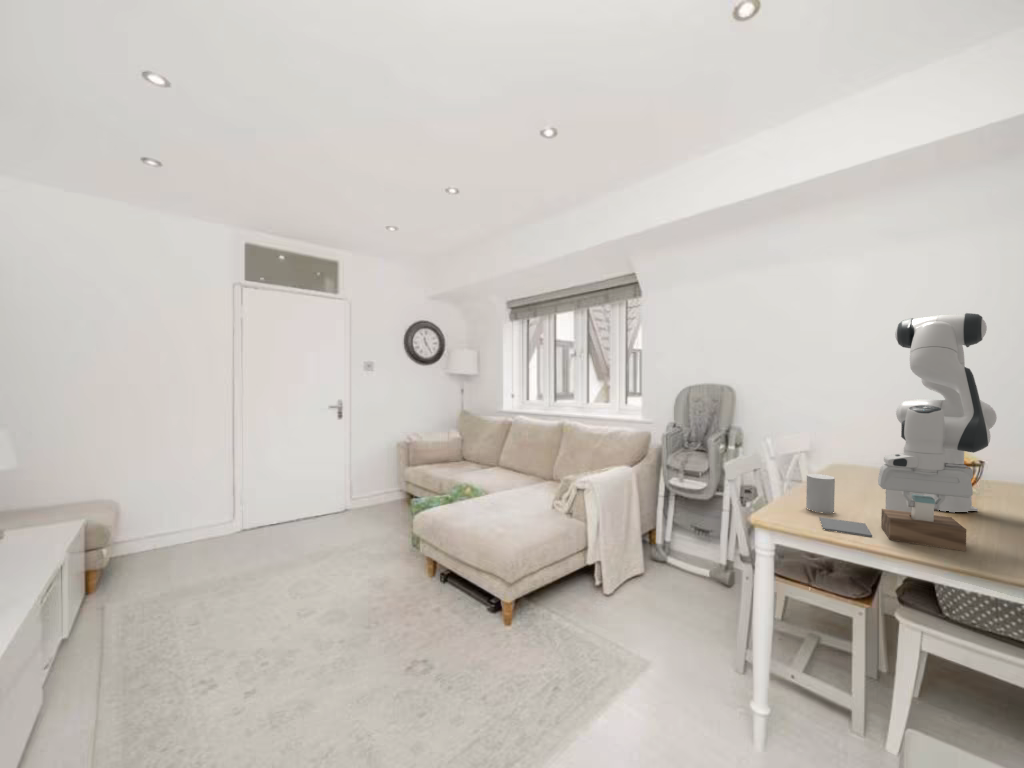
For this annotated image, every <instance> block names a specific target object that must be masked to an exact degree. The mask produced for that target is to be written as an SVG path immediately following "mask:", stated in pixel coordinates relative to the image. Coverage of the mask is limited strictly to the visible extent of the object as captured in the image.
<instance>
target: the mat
mask: <svg viewBox="0 0 1024 768" xmlns="http://www.w3.org/2000/svg"><path fill="white" fill-rule="evenodd" d="M820 521H821V522H820ZM819 522H820V525H821V524H822V525H821V528H822V527H823V528H822V530H823V529H825V530H824V531H827V530H830V531H829V532H834V531H837V532H836V533H841V532H842V534H849V535H856V536H862V537H868V538H873V534H872V532H871V531H870V529H869V528H868V525H867V524H866V523H865V522H858V521H850V520H845V519H844V520H842V519H836V518H831V517H830V518H828V517H824V516H823V517H821V516H820V517H819Z"/></svg>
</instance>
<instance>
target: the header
mask: <svg viewBox="0 0 1024 768" xmlns="http://www.w3.org/2000/svg"><path fill="white" fill-rule="evenodd" d="M880 517H881V523H880V524H881V525H880V527H881V530H882V531H883V532H884V534H885V535H886V537H887V538H888V540H889V541H897V542H901V543H902V542H903V543H907V544H908V543H909V544H916V545H922V546H927V545H928V546H929V547H935V548H942V549H948V550H953V551H954V550H956V551H963V552H967V529H966V528H965V527H964V526H962V524H960V523H959V522H958V521H957V520H956V519H954V518H953V517H952V516H947V515H945V516H943V515H937V514H936V515H935V514H934V522H930V521H922V520H915V519H912V518H911V512H905V511H897V510H889V509H886V508H881V516H880Z"/></svg>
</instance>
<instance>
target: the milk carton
mask: <svg viewBox="0 0 1024 768" xmlns="http://www.w3.org/2000/svg"><path fill="white" fill-rule="evenodd" d="M912 494H914V495H923V496H924V493H916V492H910V495H907V496H908V497H909V499H910V500H912ZM885 509H889V510H897V511H905V512H912V507H908V506H907V500H906V499H905V497H904V496H903V494H902V491H897V490H887V489H885Z"/></svg>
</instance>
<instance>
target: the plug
mask: <svg viewBox="0 0 1024 768" xmlns="http://www.w3.org/2000/svg"><path fill="white" fill-rule="evenodd" d="M912 500H913V501H914V502H915V504H914V507H912V512H911V518H912V519H915V520H922V521H930V522H934V515H935V510H934V504H935V500H934V499H933V498H932V497H931V496H923V495H914V494H912Z"/></svg>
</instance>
